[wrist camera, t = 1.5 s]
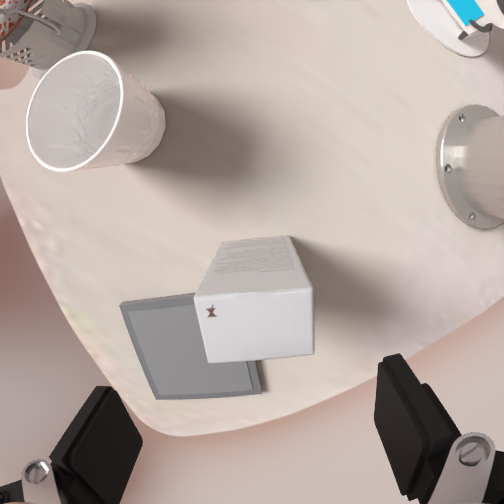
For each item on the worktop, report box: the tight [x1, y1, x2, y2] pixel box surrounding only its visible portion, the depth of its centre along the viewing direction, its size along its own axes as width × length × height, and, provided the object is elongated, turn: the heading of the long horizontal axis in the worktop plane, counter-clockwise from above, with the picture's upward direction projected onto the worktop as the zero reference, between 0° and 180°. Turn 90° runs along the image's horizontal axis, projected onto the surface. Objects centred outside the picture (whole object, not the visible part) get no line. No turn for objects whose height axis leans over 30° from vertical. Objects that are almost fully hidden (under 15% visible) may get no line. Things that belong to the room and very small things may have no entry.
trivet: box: [119, 293, 262, 400], centre depth 29 cm, size 12×12×1 cm
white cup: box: [26, 51, 166, 172], centre depth 19 cm, size 8×8×10 cm
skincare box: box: [193, 236, 315, 363], centre depth 21 cm, size 6×4×12 cm
